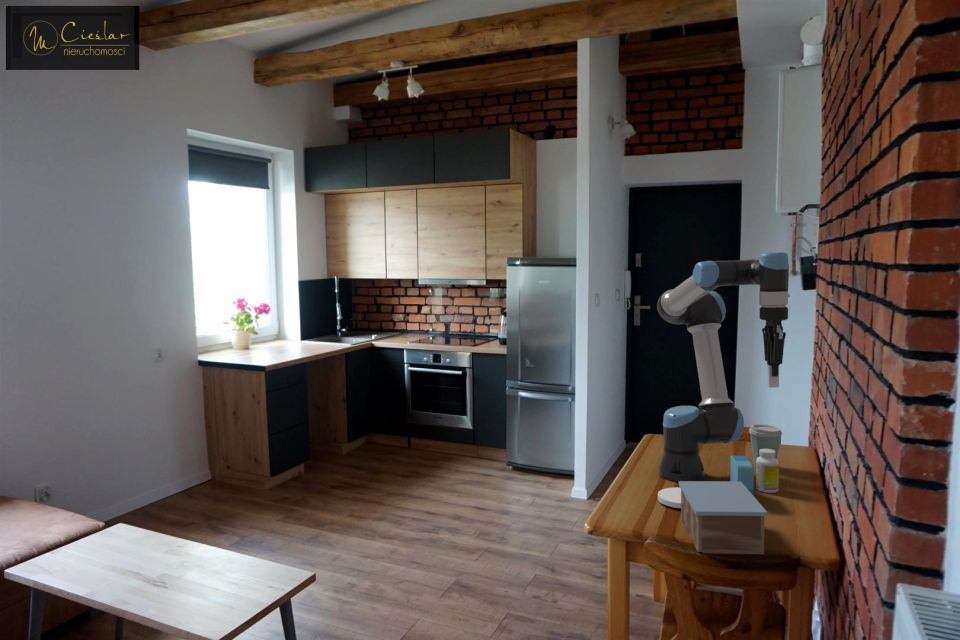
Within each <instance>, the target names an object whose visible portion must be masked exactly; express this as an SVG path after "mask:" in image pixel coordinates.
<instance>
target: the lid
mask: <svg viewBox="0 0 960 640" xmlns="http://www.w3.org/2000/svg"><path fill="white" fill-rule="evenodd" d="M678 485H679V488H681V490H682V491H683V493H684V495H685V497H686V498H687V500H688V502H689V504H690V505H691V507H692V509H693V511H694V513H695V514H696V515H710V516H764V517H767V516H768V511H767V510H766V509H765V507H763V505H762V504H761V503H760V502H759V501H758V499H757V498H756V497H755V496H754V494H753V495H752V494H751V493H750V491H749V490H748V489H747V488H746V487H745V486H744V484H743V483H742V482H734V481H730V480H729V481H720V480H719V481H718V480H717V481H716V480H715V481H713V480H712V481H711V480H710V481H709V480H707V481H706V480H705V481H702V480H699V481H679V482H678Z"/></svg>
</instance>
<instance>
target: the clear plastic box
mask: <svg viewBox="0 0 960 640" xmlns="http://www.w3.org/2000/svg"><path fill="white" fill-rule="evenodd" d="M680 517H681V518H680V519H681V521H682V523H683V525H684V527H685V529H686V531H687V533H688V535H689V537H690V539H691V541H692V544H693V546H694V547H695V549H696V551H697V553H698V552H703V553H702V554H719V555H720V554H722V555H723V554H725V555H735V554H736V555H765V516H710V515H696V514H695V513H694V511H693V509H692V507H691V505H690V504H689V502H688V500H687V498H686V497H685V495H684V493H683V491H682V490H681V508H680Z"/></svg>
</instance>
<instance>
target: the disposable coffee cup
mask: <svg viewBox="0 0 960 640" xmlns="http://www.w3.org/2000/svg"><path fill="white" fill-rule="evenodd" d="M748 433H749V434H750V435H749V436H750V442H751V449H752V457H753V465H754V467H755V468H756V460H757V458H758V457H760V454H759V450H760V449H772V450H775V452H776V455H775V458H776V459H777V460H778V456H779V450H780V444H781V440H782V435H783V432H782V430H781V429H780V428H779V427H777V426H774V425H769V424H760V423H755V424H754V423H753V424H751V425H750V428H748Z"/></svg>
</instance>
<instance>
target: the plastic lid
mask: <svg viewBox="0 0 960 640" xmlns="http://www.w3.org/2000/svg"><path fill="white" fill-rule="evenodd" d="M657 501H658V502H659V503H660V504H662V505H665V506H667V507H671V508H676V509H681V488H680V486H679V487H678V486H676V487H674V486H672V487H665V488H663V489H661V490H659V491H658V492H657Z"/></svg>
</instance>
